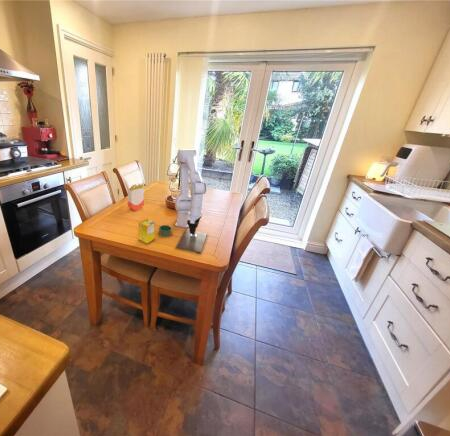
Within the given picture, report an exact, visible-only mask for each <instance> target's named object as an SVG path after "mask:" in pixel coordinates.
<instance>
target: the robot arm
mask: <svg viewBox="0 0 450 436" xmlns="http://www.w3.org/2000/svg"><path fill="white" fill-rule="evenodd" d="M197 159H198V151H197V149H178V150H177V153H176V163H177V165H178V166H179V168H180V169H179V171H180V172H179V174H180V175H179V177H180V178H179V180H180V181H179V182H180V183H179V184H180V186H179V188H180V189H179V190H180V191H179V192H180V193H179V195H178V196H176V198H175V202H174V209H175V211H176V222H175V224H174V226H176V227H181V228H188V230H190V234H194V233H195V230H196V229H197V228H198V226H199V224H200V221H201V219H202V217H203V214H202V210H203V201H204V195H206V192H207V184H206V182H205V181H204V180H203V179H202V175H201V173H200V171H199V170H197V163H196V162H197ZM189 185H190V186H189ZM189 189H190V190H189ZM189 191H190V195H189ZM196 231H197V230H196Z"/></svg>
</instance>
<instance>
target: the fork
mask: <svg viewBox="0 0 450 436" xmlns="http://www.w3.org/2000/svg"><path fill="white" fill-rule="evenodd" d="M196 232H197V230H195V233H196ZM195 233H194V234H191V235H190V241H196V236H197V235H195Z"/></svg>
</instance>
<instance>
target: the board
mask: <svg viewBox="0 0 450 436" xmlns="http://www.w3.org/2000/svg"><path fill="white" fill-rule="evenodd" d="M190 235H191V234H190V230H189V229H186V230H185V231H184V233H183V235H182V236H181V239H180V240H179V242H178V244H177V246H176V249H179V250H185V251H189V252H193V253H195V254H198V255H199V254H200V255H201V253H202V250H203V248H204V244H205V241H206V239H207V235H208V233H206V232H200V231H196V233H195V235H197V236H196V241H190Z"/></svg>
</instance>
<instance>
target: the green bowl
mask: <svg viewBox="0 0 450 436" xmlns="http://www.w3.org/2000/svg"><path fill="white" fill-rule="evenodd" d="M172 230H173V229H172V227H171V226H170V225H168V224H167V225H166V224H163V225H160V226H159V227H158V235H159V236H160V237H164V238H167V237H170V236H172Z"/></svg>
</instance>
